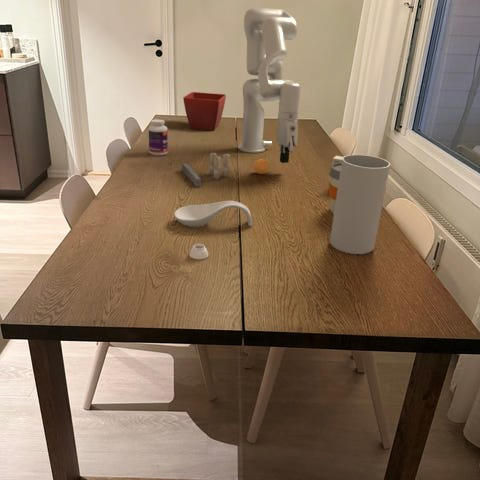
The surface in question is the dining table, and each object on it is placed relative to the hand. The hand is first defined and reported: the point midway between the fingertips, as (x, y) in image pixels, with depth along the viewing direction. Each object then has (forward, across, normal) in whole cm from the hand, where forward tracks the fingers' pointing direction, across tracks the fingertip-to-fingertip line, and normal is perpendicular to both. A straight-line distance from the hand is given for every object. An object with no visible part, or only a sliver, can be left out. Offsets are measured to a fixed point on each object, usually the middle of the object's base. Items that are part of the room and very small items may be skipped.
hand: (284, 162), depth 197 cm
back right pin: (+4, +3, +29) cm, 30 cm away
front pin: (+5, +1, +24) cm, 25 cm away
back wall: (+4, +1, +38) cm, 39 cm away
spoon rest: (+6, -42, +43) cm, 60 cm away
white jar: (+7, -61, +54) cm, 81 cm away
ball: (+2, +1, +10) cm, 10 cm away
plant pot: (+3, +82, +8) cm, 82 cm away
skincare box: (+5, -22, -12) cm, 26 cm away
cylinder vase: (+7, -66, +10) cm, 67 cm away
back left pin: (+5, -2, +29) cm, 29 cm away
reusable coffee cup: (+6, -42, -2) cm, 43 cm away
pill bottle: (+4, +36, +44) cm, 56 cm away
